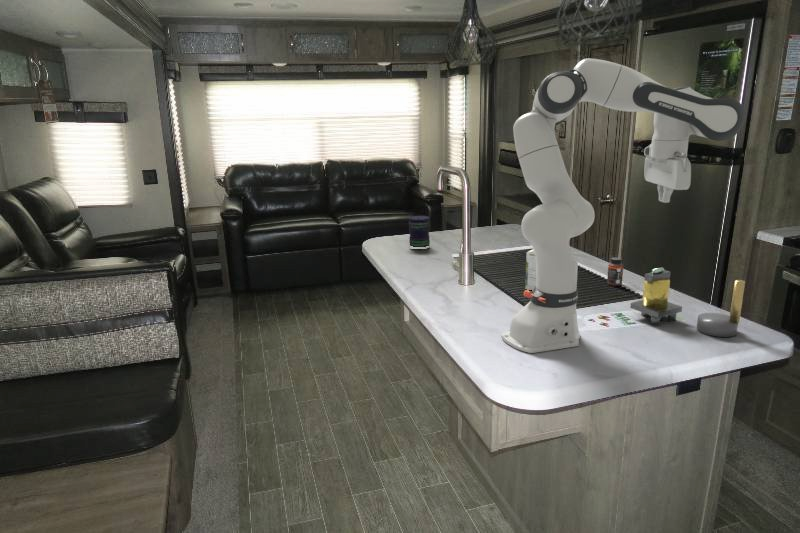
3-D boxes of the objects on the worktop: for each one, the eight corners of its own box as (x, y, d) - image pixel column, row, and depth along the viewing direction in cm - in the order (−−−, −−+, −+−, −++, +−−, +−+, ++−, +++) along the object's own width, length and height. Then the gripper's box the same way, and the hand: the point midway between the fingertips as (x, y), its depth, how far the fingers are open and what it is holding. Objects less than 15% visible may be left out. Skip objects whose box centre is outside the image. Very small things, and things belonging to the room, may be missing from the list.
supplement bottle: (622, 286, 195) (624, 260, 193) (607, 285, 197) (608, 259, 195) (621, 282, 200) (623, 257, 197) (607, 281, 202) (608, 256, 199)
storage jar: (410, 245, 268) (409, 215, 264) (430, 245, 266) (430, 215, 262) (408, 250, 258) (407, 219, 254) (428, 250, 257) (428, 219, 253)
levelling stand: (657, 327, 159) (662, 275, 154) (629, 316, 167) (633, 267, 163) (680, 321, 163) (686, 270, 158) (652, 311, 172) (657, 262, 167)
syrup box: (531, 286, 200) (533, 247, 196) (546, 288, 196) (548, 250, 192) (524, 290, 196) (525, 251, 192) (539, 293, 192) (541, 253, 188)
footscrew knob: (743, 337, 149) (750, 284, 145) (703, 336, 151) (710, 284, 147) (728, 323, 159) (735, 273, 155) (691, 322, 160) (697, 273, 156)
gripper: (700, 153, 135) (694, 208, 139) (664, 147, 155) (659, 195, 159) (675, 154, 135) (669, 208, 139) (641, 148, 155) (637, 196, 159)
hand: (664, 201), depth 149 cm, fingers closed
